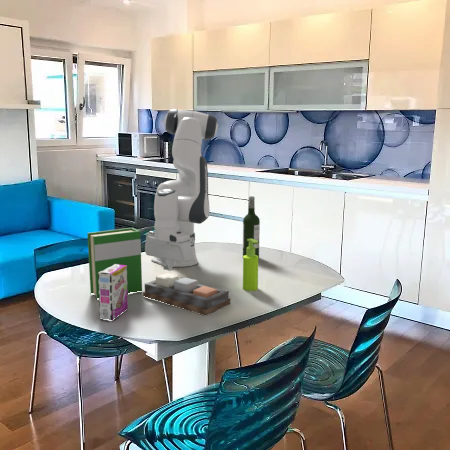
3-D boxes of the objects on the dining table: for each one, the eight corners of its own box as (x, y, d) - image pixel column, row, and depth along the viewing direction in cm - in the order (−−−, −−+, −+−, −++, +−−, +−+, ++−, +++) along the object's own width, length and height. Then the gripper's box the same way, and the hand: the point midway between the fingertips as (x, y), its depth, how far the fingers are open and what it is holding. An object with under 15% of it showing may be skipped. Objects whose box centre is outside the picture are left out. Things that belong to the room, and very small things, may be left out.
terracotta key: (193, 299, 172) (193, 290, 171) (203, 295, 176) (203, 286, 176) (206, 303, 168) (206, 293, 168) (217, 298, 173) (217, 289, 172)
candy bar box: (112, 322, 158) (110, 273, 155) (99, 320, 160) (96, 272, 156) (129, 310, 169) (127, 264, 165) (116, 308, 170) (114, 263, 167)
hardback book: (97, 301, 177) (94, 236, 173) (90, 295, 184) (87, 232, 179) (142, 292, 187) (140, 231, 182) (134, 286, 193) (132, 227, 188)
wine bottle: (259, 260, 231) (260, 197, 225) (242, 260, 232) (243, 197, 226) (258, 256, 239) (259, 195, 233) (242, 256, 239) (243, 195, 233)
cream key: (156, 285, 182) (155, 276, 181) (167, 281, 187) (166, 273, 186) (167, 289, 178) (167, 279, 178) (178, 284, 183) (178, 275, 182)
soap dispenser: (248, 292, 187) (249, 241, 183) (240, 287, 193) (240, 238, 189) (262, 290, 189) (262, 240, 185) (252, 285, 195) (253, 236, 191)
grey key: (174, 290, 177) (173, 281, 176) (184, 286, 181) (184, 277, 181) (186, 294, 173) (186, 284, 172) (197, 289, 178) (197, 280, 177)
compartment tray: (142, 297, 181) (142, 284, 180) (168, 287, 192) (168, 275, 191) (206, 315, 164) (206, 301, 163) (230, 303, 175) (230, 290, 174)
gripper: (140, 231, 182) (141, 267, 185) (182, 238, 170) (182, 276, 173) (152, 228, 187) (153, 263, 190) (193, 235, 175) (194, 272, 178)
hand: (167, 270), depth 181 cm, fingers closed
